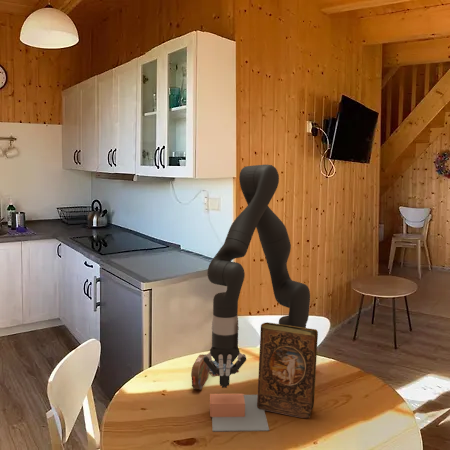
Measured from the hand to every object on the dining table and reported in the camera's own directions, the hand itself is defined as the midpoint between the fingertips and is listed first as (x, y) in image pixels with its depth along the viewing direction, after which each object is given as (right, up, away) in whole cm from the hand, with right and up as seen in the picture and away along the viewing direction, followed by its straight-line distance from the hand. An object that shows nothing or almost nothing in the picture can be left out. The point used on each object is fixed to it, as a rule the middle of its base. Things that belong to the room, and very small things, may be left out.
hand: (224, 386), depth 141 cm
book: (+18, -8, +3) cm, 20 cm away
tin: (-8, -6, +20) cm, 22 cm away
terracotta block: (-4, -6, +1) cm, 7 cm away
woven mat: (-1, -5, +31) cm, 31 cm away
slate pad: (+4, -8, +1) cm, 9 cm away
